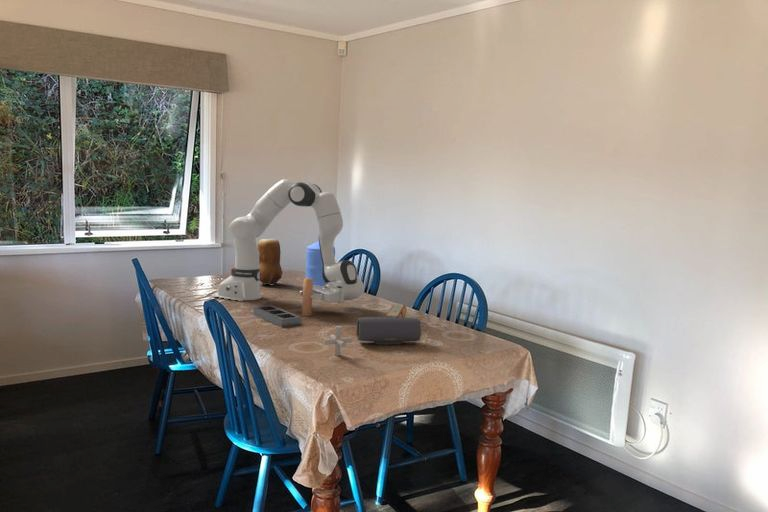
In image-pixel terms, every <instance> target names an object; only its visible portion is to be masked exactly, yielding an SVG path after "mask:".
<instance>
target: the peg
mask: <svg viewBox="0 0 768 512" xmlns="http://www.w3.org/2000/svg"><path fill="white" fill-rule="evenodd" d="M302 281H303V282H302V283H303V284H302V285H303V286H302V287H303V289H302V290H303V295H302V306H301V307H302V309H301V317H302V316H303V317H312V313H313V310H312V309H313V299H311V295H312V291H313V278H306V277H304V278H303V280H302Z"/></svg>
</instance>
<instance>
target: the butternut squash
mask: <svg viewBox="0 0 768 512" xmlns="http://www.w3.org/2000/svg"><path fill="white" fill-rule="evenodd" d="M257 249H258V251H259V268H260V279H259V282H260V283H262V284H264V285H265V284H274V285H275V284H276V283H278V282H279V281H280V280H281V279H282V277H283V274H284V273H283V269H282V266H281V253H282V252H281V244H280V241H279V240H278V238H277V239H276V238H261V239H259V240H258V242H257Z"/></svg>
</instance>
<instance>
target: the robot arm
mask: <svg viewBox="0 0 768 512" xmlns="http://www.w3.org/2000/svg"><path fill="white" fill-rule="evenodd" d="M290 203H292V204H294V205H295V206H298V207H305V208H307V207H311V208H312V209H313V210H314V212H315V215H316V219H317V224H318V241H319V246H320V253H321V259H322V277H323V280H324V281H325V282H326V284H325V286H324V287H322V286H318V285H313V291H312V295H311V299H312V300H321V301H324V302H327V303H338V304H342V303H343V304H344V301H352V300H356V299H358V298H361V297H362V295H363V294H364V293H365V285H364V283H363V281H362V280H361V279H360V278H359V275H358V272H357V267H356V265H355V263H354V262H353V261H351V260H350V259H345V260H340V261H338V262H336V258H335V257H336V256H335V257H334V251H333V247H334V241H335V240H336V237H338V235H339V234H341V232H342V229H343V227H344V220H343V215H342V212H341V209H340V205H339V203H338V201H337V199H336V196H335V195H334V194H333V193H332V192H329V191H322V189H321V188H320V187H319V186H318V185H317V184H314V183H311V182H306V181H305V182H302V181H301V182H300V181H299V182H295V183H294V182H292V181H291V180H290V179H286V178H283V179H281V180H279V181H278V182H276V183H275V184H273V185H272V186H271V187H270V188H269V189H268V190H267V191H266V192H265V193H264V194H263V195H262V196H261V197H260V198H259V199H258V200H257V201H256V202H255V205H254V206H253V208H252V209H251V210H250V212H249V213H248V214H247V215H245V216H238V217H236V218H234V220H232V221H231V222H230V224H229V226H228V232H229V235H230V237H231V238H232V241H233V245H234V254H235V256H234V258H235V259H234V261H235V262H234V267H233V268H232V269H230V270H229V271H230V272H229V273H230V275H229V276H228V277H226V278H225V279H224V280H222V281H221V282H220V283H219V284H218V285H219V286H218V289H217V292H214V293H213V295H212V297H213V298H214V297H219V298H218V299H221V298H224V299H223V300H228V299H231V300H230V301H235V300H238V301H239V302H243V301H244V300H245V301H254V300H260V299H261V298H262V293H261V288H260V281H259V279H260V268H259V251H258V244H257V242H256V241H257V240H256V239H257V238H258V237H260V236H262V235H263V234H264V233H265V232H266V230H267V228H268V227H269V226H270V225H271V224H272V222H273V220H275V218H276V217H277V216H279V214H280V213H282V211H283V210H284V209H285V208H286V207H287V206H288V205H289V204H290ZM298 293H299V295H300V296H303V289H302V290H301V289H300V290H299V291H298ZM238 301H237V302H238Z"/></svg>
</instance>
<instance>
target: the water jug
mask: <svg viewBox="0 0 768 512" xmlns="http://www.w3.org/2000/svg"><path fill="white" fill-rule="evenodd" d="M305 251H306V253H305V254H306V258H305V259H306V261H305V262H306V263H305V278H313V285H318V286H325V284H326V282H325V281H324V280H323V277H322V259H321V253H320V246H319V240H317V241H315V242H314V243H312V244H310V245H307V246H306V250H305ZM333 251H334V257H336V247H335V246H333Z"/></svg>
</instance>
